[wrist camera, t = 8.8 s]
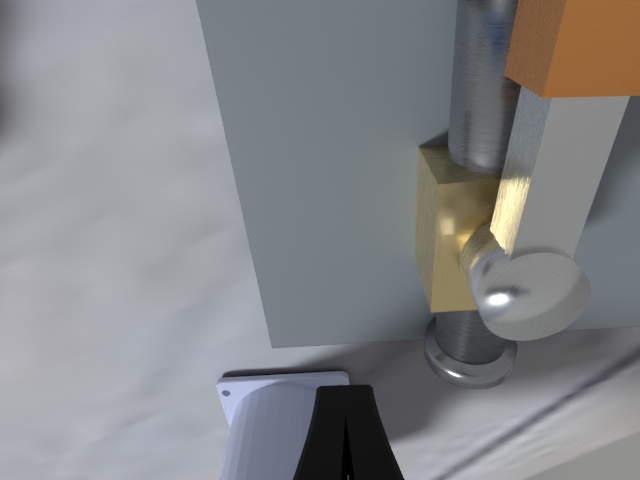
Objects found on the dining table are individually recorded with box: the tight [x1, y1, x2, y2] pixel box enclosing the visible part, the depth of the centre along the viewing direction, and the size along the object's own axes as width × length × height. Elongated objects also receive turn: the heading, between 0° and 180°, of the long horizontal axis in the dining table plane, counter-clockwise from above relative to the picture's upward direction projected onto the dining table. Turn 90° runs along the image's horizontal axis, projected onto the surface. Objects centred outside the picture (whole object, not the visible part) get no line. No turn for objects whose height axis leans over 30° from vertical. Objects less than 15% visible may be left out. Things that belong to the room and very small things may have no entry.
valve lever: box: [459, 0, 640, 341], centre depth 12 cm, size 12×3×2 cm, turn 1°
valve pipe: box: [415, 0, 522, 389], centre depth 17 cm, size 18×5×4 cm, turn 5°
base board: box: [196, 0, 640, 348], centre depth 18 cm, size 18×20×1 cm
